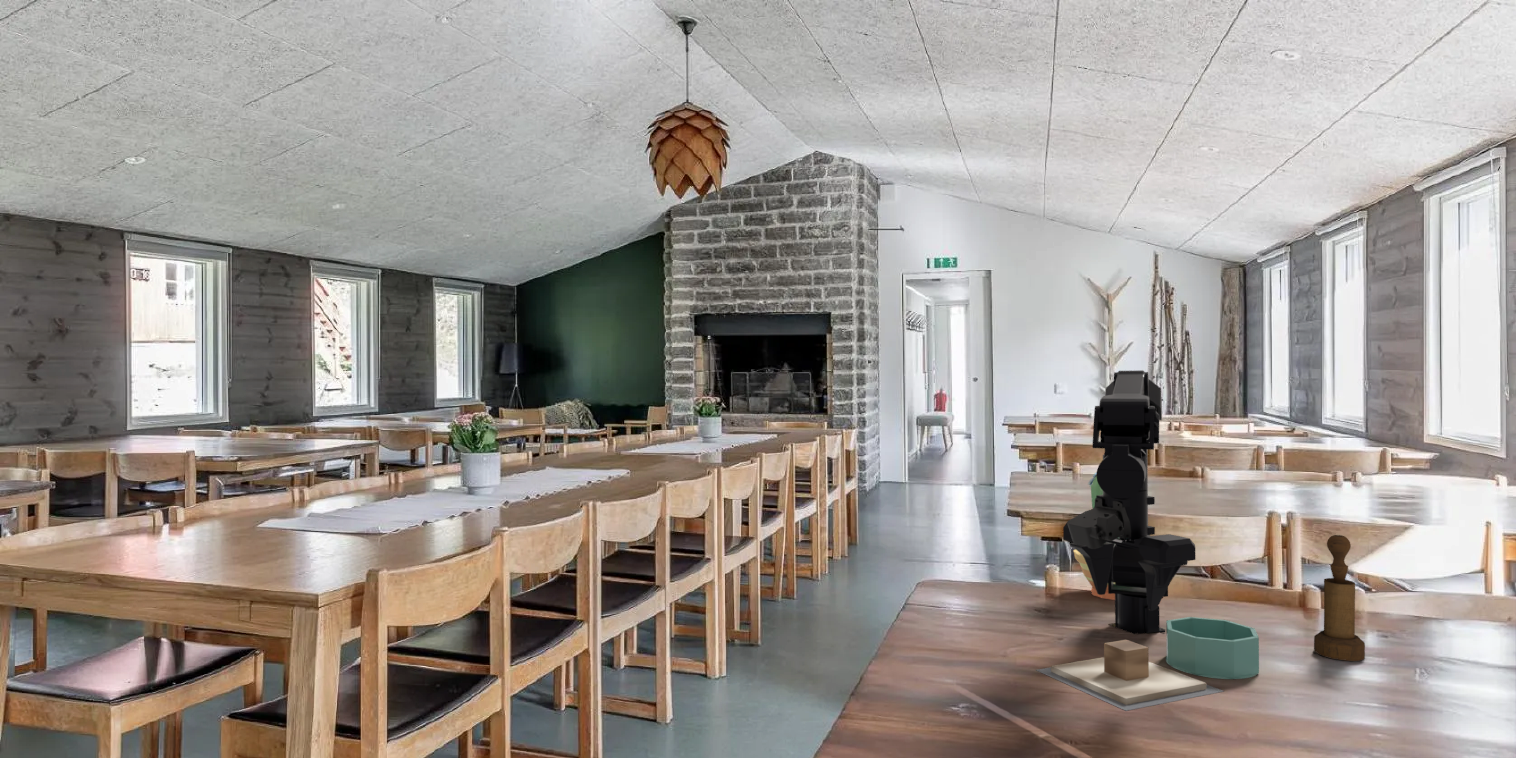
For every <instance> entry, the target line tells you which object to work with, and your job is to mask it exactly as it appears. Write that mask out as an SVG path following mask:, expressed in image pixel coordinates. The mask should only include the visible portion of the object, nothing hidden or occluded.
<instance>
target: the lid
mask: <svg viewBox="0 0 1516 758" xmlns="http://www.w3.org/2000/svg"><path fill="white" fill-rule="evenodd" d="M1050 667H1051V672H1053V673H1055V674H1058V675H1060V676H1062V677H1064V678H1067V679H1069V680H1071V681H1073V682H1076V683H1078V684H1080V685H1082V686H1085V687H1087V688H1089V689H1091V690H1094V691H1096V692H1098V693H1100V694H1103V695H1105V696H1107V697H1109V698H1112V699H1114V700H1116V701H1118V702H1121V703H1123V704H1125V705H1128V704H1133V703H1138V702H1143V701H1148V700H1153V699H1158V698H1163V697H1169V696H1174V695H1179V694H1184V693H1189V692H1194V691H1199V690H1204V689H1206V684H1207V683H1206V682H1205V681H1202V680H1200V679H1197V678H1193V677H1190V676H1188V675H1185V674H1184V673H1180V672H1178V671H1175V670H1173V669H1169V668H1167V667H1165V666H1161V665H1159V664H1156V663H1154V662H1151V661H1149V647H1148V646H1145V645H1143V644H1141V643H1136V642H1134V641H1131V640H1128V639H1121V640H1115V641H1110V642H1109V641H1108V642H1104V643H1103V657H1097V658H1092V659H1086V660H1078V661H1074V662H1073V661H1072V662H1068V663H1061V664H1055V665H1051V666H1050Z"/></svg>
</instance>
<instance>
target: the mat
mask: <svg viewBox="0 0 1516 758" xmlns="http://www.w3.org/2000/svg"><path fill="white" fill-rule="evenodd" d="M1035 671H1036V672H1038V673H1040V674H1043V675H1046V676H1048V677H1050V678H1052V679H1053V680H1056V681H1059V682H1060V683H1063V684H1066V685H1067V686H1069V687H1071V688H1073V689H1076V690H1079V691H1080V692H1083V693H1085V694H1087V695H1090V696H1092V697H1094V698H1096V699H1099V700H1101V701H1103V702H1105V703H1107V704H1109V705H1111V706H1114V707H1116V708H1118V709H1120V710H1122V711H1125V712H1128V711H1133V710H1138V709H1143V708H1148V707H1152V706H1158V705H1163V704H1167V703H1173V702H1178V701H1184V700H1188V699H1193V698H1198V697H1203V696H1208V695H1209V696H1210V695H1213V694H1218V693H1223V692H1225V690H1222V689H1219V688H1217V687H1215V686H1212V685H1209V684H1207V683H1206V689H1204V690H1199V691H1194V692H1189V693H1184V694H1179V695H1174V696H1169V697H1163V698H1158V699H1153V700H1148V701H1143V702H1138V703H1133V704H1128V705H1125V704H1123V703H1121V702H1118V701H1116V700H1114V699H1112V698H1109V697H1107V696H1105V695H1103V694H1100V693H1098V692H1096V691H1094V690H1091V689H1089V688H1087V687H1085V686H1082V685H1080V684H1078V683H1076V682H1073V681H1071V680H1069V679H1067V678H1064V677H1062V676H1060V675H1058V674H1055V673H1053V672H1051V666H1049V667H1045V668H1044V667H1043V668H1040V669H1035Z"/></svg>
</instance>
